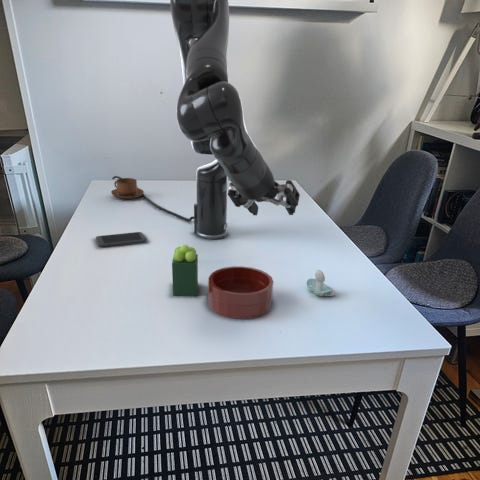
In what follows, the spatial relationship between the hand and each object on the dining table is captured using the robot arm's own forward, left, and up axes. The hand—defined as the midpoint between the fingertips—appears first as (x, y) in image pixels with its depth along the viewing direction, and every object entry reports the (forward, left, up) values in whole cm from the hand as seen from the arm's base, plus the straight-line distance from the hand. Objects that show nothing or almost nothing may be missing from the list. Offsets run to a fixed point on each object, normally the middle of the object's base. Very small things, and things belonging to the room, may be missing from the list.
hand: (273, 211), depth 101 cm
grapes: (-17, -11, -20) cm, 28 cm away
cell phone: (-51, +5, -20) cm, 55 cm away
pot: (-3, -9, -20) cm, 22 cm away
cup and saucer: (-81, +40, -20) cm, 93 cm away
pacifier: (+11, +7, -20) cm, 24 cm away
